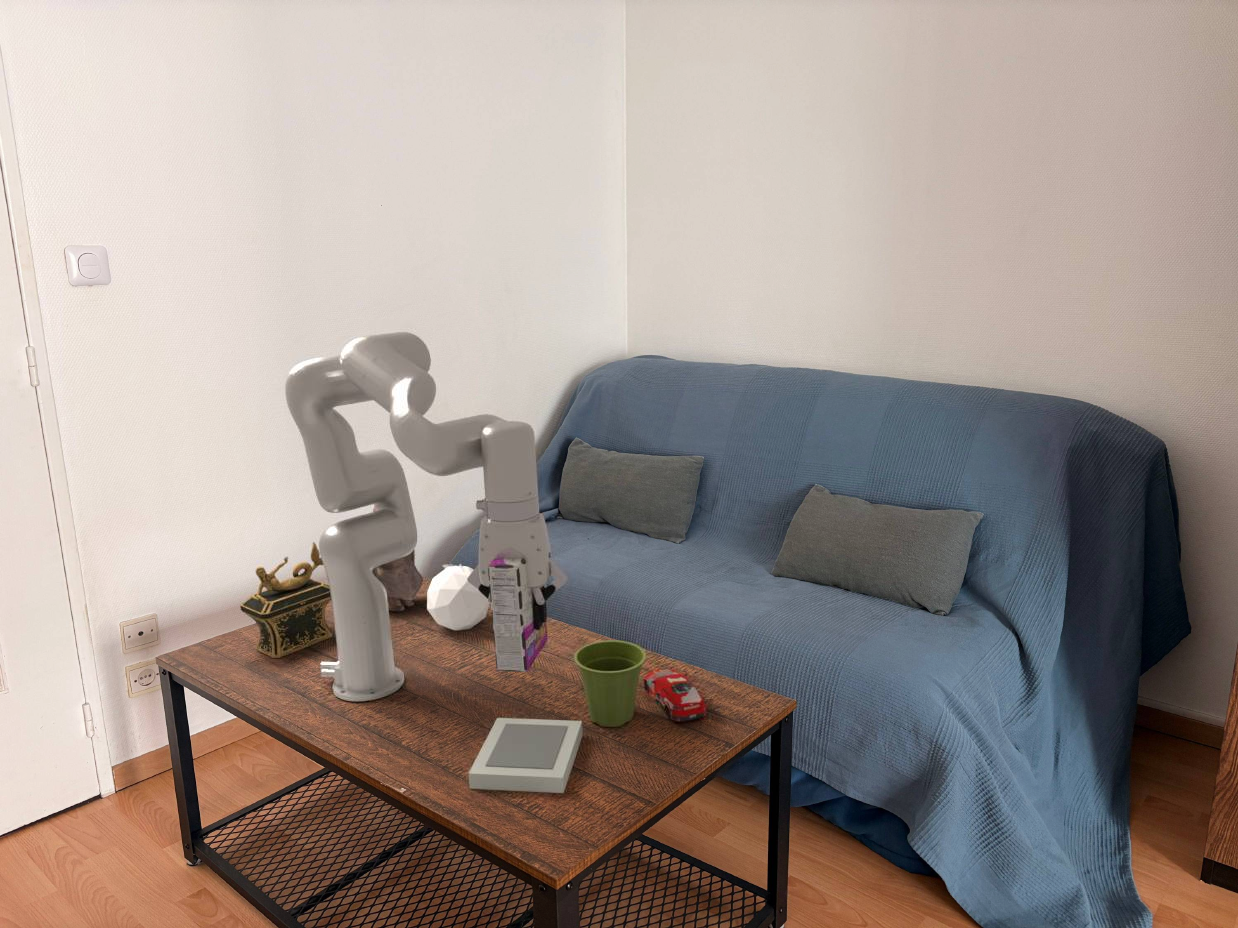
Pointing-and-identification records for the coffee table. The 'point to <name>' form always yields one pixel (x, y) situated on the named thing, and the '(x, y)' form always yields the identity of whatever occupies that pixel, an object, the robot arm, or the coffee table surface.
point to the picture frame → (527, 755)
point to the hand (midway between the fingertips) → (520, 624)
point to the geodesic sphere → (456, 599)
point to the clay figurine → (399, 581)
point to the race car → (675, 695)
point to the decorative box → (290, 609)
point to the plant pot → (610, 679)
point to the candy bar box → (513, 616)
